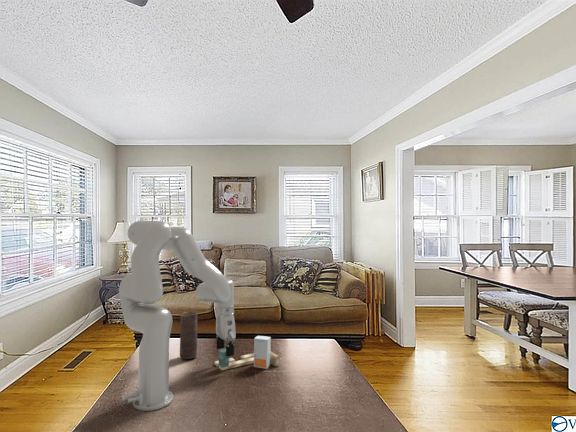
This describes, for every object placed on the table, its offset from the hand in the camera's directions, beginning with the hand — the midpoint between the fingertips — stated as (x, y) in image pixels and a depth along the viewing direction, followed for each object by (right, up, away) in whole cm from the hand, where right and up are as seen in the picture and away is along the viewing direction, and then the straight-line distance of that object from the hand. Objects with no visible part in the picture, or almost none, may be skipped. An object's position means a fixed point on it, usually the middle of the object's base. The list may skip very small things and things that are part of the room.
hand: (225, 351), depth 150 cm
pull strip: (+9, -7, +2) cm, 12 cm away
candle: (-18, -7, +11) cm, 22 cm away
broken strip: (+5, -7, +9) cm, 12 cm away
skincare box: (+15, -7, +2) cm, 17 cm away
